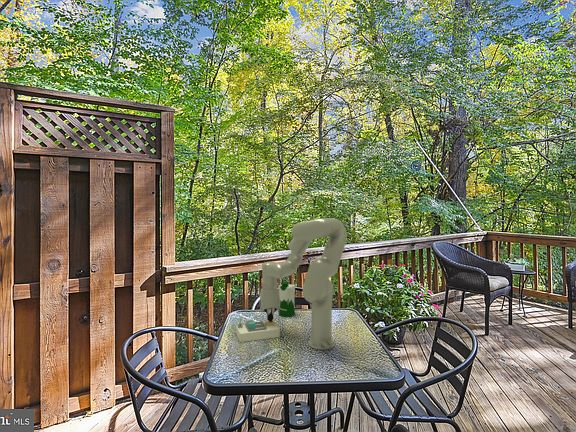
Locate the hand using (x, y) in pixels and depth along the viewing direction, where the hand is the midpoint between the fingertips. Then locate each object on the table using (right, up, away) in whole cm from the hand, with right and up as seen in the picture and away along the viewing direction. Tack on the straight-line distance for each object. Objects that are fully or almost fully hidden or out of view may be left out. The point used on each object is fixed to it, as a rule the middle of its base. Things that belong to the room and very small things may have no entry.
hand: (270, 321), depth 170 cm
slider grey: (-10, -2, -3) cm, 11 cm away
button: (0, -6, 0) cm, 6 cm away
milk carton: (+9, -5, +27) cm, 29 cm away
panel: (-6, -6, -4) cm, 9 cm away
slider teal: (-9, -2, -8) cm, 12 cm away
